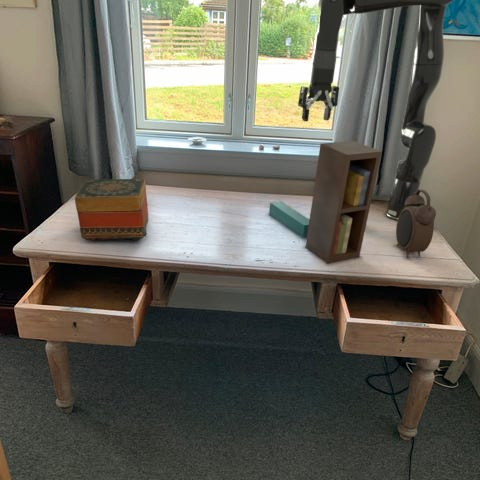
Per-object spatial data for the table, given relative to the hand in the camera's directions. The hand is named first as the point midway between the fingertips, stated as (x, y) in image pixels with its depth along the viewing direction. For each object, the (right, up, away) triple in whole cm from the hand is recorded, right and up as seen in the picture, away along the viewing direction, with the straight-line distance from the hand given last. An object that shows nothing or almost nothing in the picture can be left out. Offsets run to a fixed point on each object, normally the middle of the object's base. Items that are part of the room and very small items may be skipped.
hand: (315, 120), depth 161 cm
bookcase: (+4, -46, -10) cm, 47 cm away
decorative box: (-65, -39, -7) cm, 76 cm away
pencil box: (-8, -34, +7) cm, 35 cm away
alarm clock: (+28, -45, -7) cm, 54 cm away
